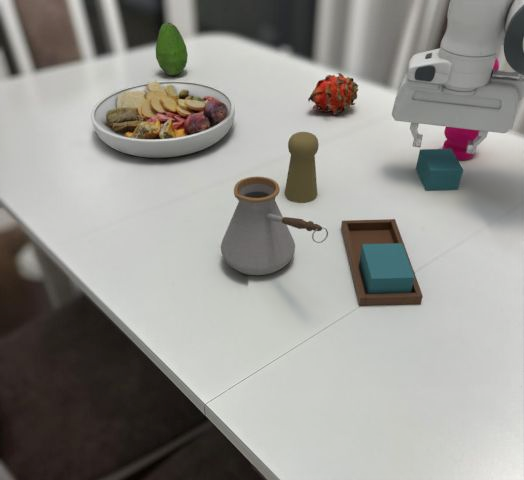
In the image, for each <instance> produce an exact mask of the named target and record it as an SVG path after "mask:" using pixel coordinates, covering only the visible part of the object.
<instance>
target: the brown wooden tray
mask: <svg viewBox="0 0 524 480" xmlns="http://www.w3.org/2000/svg"><path fill="white" fill-rule="evenodd" d="M340 231H341V235H342V241H343V243H344V248H345V252H346V256H347V260H348V266H349V269H350V273H351V277H352V282H353V286H354V287H353V288H354V291H355V295H356V299H357V303H358V304H357V305H358V307H378V306H406V305H407V306H413V305H421V304H422V300H423V292H422V290H421V287H420V284H419V282H418V279H417V275H416V273H415V270H414V267H413V265H412V262H411V260H410V257H409V254H408V252H407V248H406V246H405V243H404V240H403V237H402V235H401V233H400V229H399V227H398V223H397V222H396V219H395V218H391V219H390V218H389V219H388V218H387V219H358V220H357V219H355V220H354V219H353V220H352V219H351V220H341V224H340ZM393 243H402V244H403V246H404V249H405V252H406V255H407V258H408V260H409V263H410V266H411V269H412V271H413V274H414V277H415V278H414V282H413V286H412V290H411V293H393V294H366V292H365V288H364V284H363V280H362V276H361V272H360V268H359V262H360V255H361V249H362V244H393Z"/></svg>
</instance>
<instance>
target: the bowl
mask: <svg viewBox="0 0 524 480" xmlns="http://www.w3.org/2000/svg"><path fill="white" fill-rule="evenodd" d="M235 108H236V105H235V102H234V100H233V98H232V97H231V96H230V95H229V94H228V93H227V92H225V91H224V90H222V89H220V88H218V87H216V86H212V85H209V84H206V83H200V82H196V81H188V80H187V81H186V80H161V81H157V80H156V81H155V80H154V81H151V82H146V83H139V84H134V85H130V86H127V87H124V88H122V89H119V90H116V91H114V92H111V93H110V94H108V95H106V96H104V97H103V98H101V99H100V100H99V101H98V102H96V104H95V105H94V106H93V108H92V110H91V113H90V120H91V124H92V127H93V130H94V131H95V133H96V135H97V136H98V137H99V139H100V140H101V141H102V142H104V143H105V144H106V145H108V146H109V147H110V148H112V149H113V150H116V151H118V152H120V153H124V154H125V155H130V156H135V157H141V158H149V159H151V158H153V159H161V158H173V157H182V156H186V155H190V154H194V153H197V152H200V151H202V150H205V149H207V148H210V147H211V146H213V145H214V144H217V143H218V142H220V140H221V139H223V138H224V137H225V136H226V135H227V134H228V132H229V131H230V129H231V128H232V126H233V123H234V122H235V121H234V120H235V116H236V115H235V114H236V109H235Z"/></svg>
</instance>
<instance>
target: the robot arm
mask: <svg viewBox="0 0 524 480" xmlns="http://www.w3.org/2000/svg"><path fill="white" fill-rule="evenodd" d="M446 16H447V17H446V18H447V24H446V29H445V33H444V34H443V37H442V39H441V41H440V44H439V45H440V46H439V48H436V49H431V50H427V51H423V52H418V53H415V54H413V55H412V56H411V58H410V60H409V62H408V65H407V72H406V73H405V74H404V75H403V77H402V78H401V81H400V84H399V86H398V89H397V92H396V96H395V99H394V102H393V106H392V111H391V116H392V118H393V120H394V121H396V122H402V123H410V125H409V130H410V133H411V135H412V138H413V141H412V145H411V147H413V148H421V146H422V143H423V136H424V135H423V134H422V133H419V132H418V129H419V126H420V125H419V124H421V125H428V126H435V127H437V126H438V127H453V128H462V129H471V130H479V132H478V136H477V137H476V138H475V139H474V140H473V141H472V140H469V141H468V146H467V148H466V153H468V154H474V155H475V153H476V150H477V147H478V146H479V145H480V144H482V143H483V141H484V140H485V139H486V138H487V137H488V133H489V132H490V133H498V134H506V133H508V132H509V131H511V130H513V127H514V124H515V120H516V116H517V112H518V105H519V102H520V101H521V100H522V99H524V0H450V1H449V4H448V9H447V15H446ZM501 46H503V54H504V58H505V60H506V62H507V64H508V65H509V67H510V68H511V69H512V70H513V71H507V70H501V69H500V70H493V66H494V63H495V60H496V58H497V55H498V53H499V50H500V47H501ZM490 77H491V78H490Z"/></svg>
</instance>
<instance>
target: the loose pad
mask: <svg viewBox="0 0 524 480" xmlns="http://www.w3.org/2000/svg"><path fill="white" fill-rule="evenodd" d="M417 156H418V157H417V161H416V165H415V171H416V173H417V175H418V177H419V179H420V181H421V184H422V186H423V188H424V190H425V191H454V190H455V191H456V190H459V188H460V187H459V186H460V183H461V180H462V176H463V173H464V168H463V166H462V165H461V163H460V160H458V159H457V158H456V156H455V154H454V153H453V151H452V149H443V148H429V149H427V148H424V149H422V148H421V149H419V152H418V155H417Z"/></svg>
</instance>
